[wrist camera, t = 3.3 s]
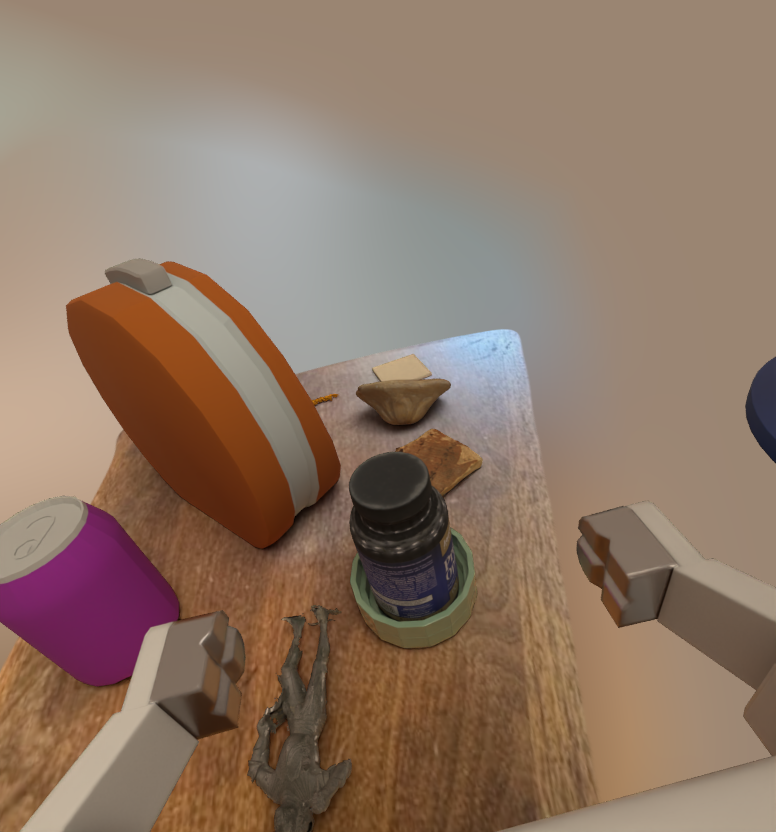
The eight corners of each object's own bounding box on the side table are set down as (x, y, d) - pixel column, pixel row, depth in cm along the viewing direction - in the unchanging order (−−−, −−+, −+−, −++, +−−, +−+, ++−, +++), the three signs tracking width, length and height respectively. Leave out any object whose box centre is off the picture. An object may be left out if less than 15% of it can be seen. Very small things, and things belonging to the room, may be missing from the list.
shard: (398, 542, 35) (394, 527, 34) (344, 496, 41) (339, 482, 40) (486, 469, 40) (485, 454, 39) (428, 436, 45) (426, 422, 44)
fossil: (459, 371, 43) (358, 377, 42) (464, 415, 43) (361, 422, 41) (437, 389, 52) (353, 394, 51) (441, 425, 52) (356, 431, 50)
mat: (413, 356, 60) (413, 353, 59) (432, 375, 55) (431, 372, 55) (372, 370, 59) (372, 367, 58) (387, 391, 54) (386, 388, 54)
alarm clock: (369, 490, 40) (293, 236, 27) (292, 571, 35) (149, 301, 22) (230, 428, 53) (133, 235, 40) (157, 481, 47) (16, 276, 34)
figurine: (343, 585, 29) (310, 825, 19) (372, 619, 31) (356, 854, 20) (267, 611, 31) (199, 844, 20) (299, 641, 32) (250, 870, 22)
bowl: (445, 527, 36) (440, 502, 34) (500, 617, 29) (498, 592, 27) (347, 568, 34) (337, 544, 33) (381, 673, 28) (372, 650, 26)
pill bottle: (473, 613, 29) (458, 500, 23) (385, 643, 29) (344, 535, 22) (443, 542, 34) (423, 432, 28) (367, 565, 34) (330, 460, 27)
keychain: (276, 410, 54) (278, 418, 54) (275, 409, 53) (277, 417, 53) (337, 391, 55) (339, 399, 55) (337, 390, 54) (339, 398, 54)
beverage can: (175, 671, 30) (70, 567, 23) (62, 708, 30) (-81, 612, 23) (191, 577, 36) (112, 473, 29) (98, 606, 36) (-5, 507, 29)
